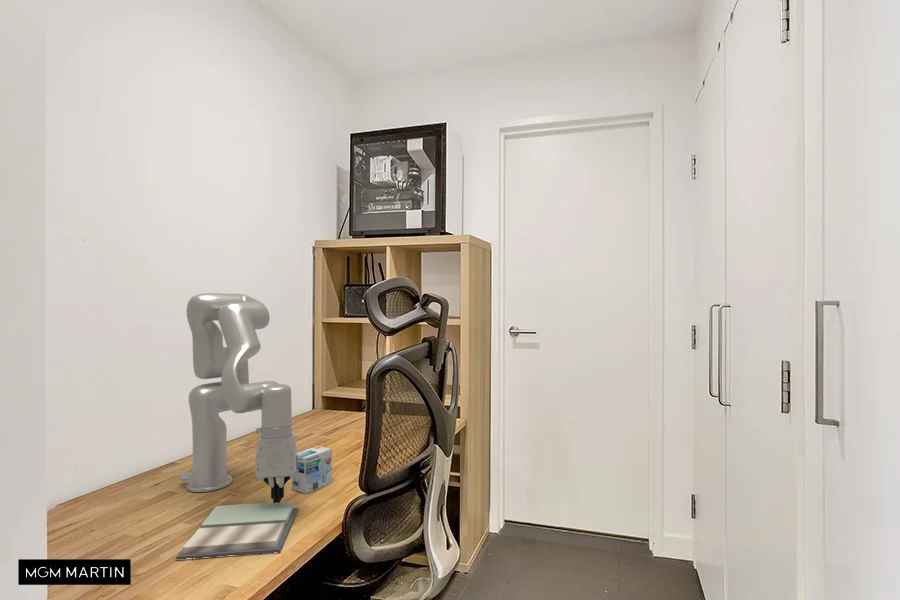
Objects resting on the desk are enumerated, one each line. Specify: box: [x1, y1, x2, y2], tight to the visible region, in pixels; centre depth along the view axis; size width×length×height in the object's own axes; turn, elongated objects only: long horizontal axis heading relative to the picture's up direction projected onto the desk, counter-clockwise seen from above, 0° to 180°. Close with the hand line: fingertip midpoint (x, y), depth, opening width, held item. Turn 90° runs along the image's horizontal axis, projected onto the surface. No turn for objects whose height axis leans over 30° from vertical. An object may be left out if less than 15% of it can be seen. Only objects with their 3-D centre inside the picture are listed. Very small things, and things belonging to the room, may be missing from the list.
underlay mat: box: [175, 507, 299, 560], centre depth 115 cm, size 22×22×1 cm
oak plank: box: [182, 523, 286, 554], centre depth 110 cm, size 20×10×2 cm, turn 98°
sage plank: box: [200, 500, 295, 528], centre depth 120 cm, size 20×10×2 cm, turn 98°
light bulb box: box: [291, 445, 333, 494], centre depth 144 cm, size 11×7×11 cm, turn 148°
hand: (277, 500), depth 124 cm, fingers closed
